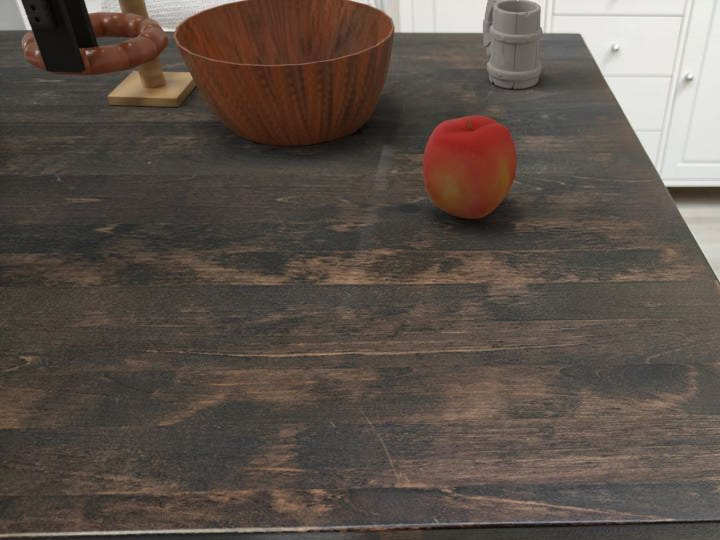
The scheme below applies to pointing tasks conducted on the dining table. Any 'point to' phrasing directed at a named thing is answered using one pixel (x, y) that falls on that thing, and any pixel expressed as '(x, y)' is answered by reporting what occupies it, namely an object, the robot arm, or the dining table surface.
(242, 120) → the bowl
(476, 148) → the apple
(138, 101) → the post
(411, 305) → the dining table surface
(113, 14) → the ring
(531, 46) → the mug
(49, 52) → the robot arm
